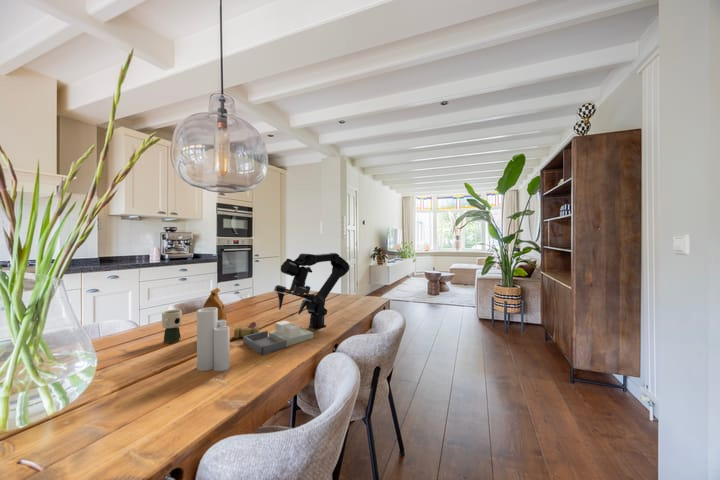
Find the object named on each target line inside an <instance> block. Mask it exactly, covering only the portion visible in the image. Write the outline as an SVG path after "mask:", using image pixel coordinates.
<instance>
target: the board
mask: <svg viewBox="0 0 720 480" xmlns="http://www.w3.org/2000/svg"><path fill="white" fill-rule="evenodd" d="M268 337H270V338H271V339H273V340H275V341H277V342H280V341H283V340H287V347H288V346H292V345H294V344H299V343H302V342H305V341H308V340H312V339H314V332H313V331H312V330H308V329H306V328H303V327H301V326H300V336H298V337H294V338H291V339H290V338H288V337H286V336H284V334H279V333H277V332H275V330H273V331H268Z"/></svg>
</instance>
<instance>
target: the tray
mask: <svg viewBox="0 0 720 480" xmlns="http://www.w3.org/2000/svg"><path fill="white" fill-rule="evenodd" d="M242 340H243V342H242V343H243V345H245V346H246V347H248V348H250V349H251V350H253V351H254V352H255V353H257V354H259V355H261V356H264V355H266V354H267V355H268V354H271V353H273V352H278V351H280V350H283V349H286V348H287V347H288V346H287V340H283V341H280V342H277V341H275V340H273V339H271V338H270V337H269V331H268V330H264V331H259V333H255V334H251V335H247V336H243V338H242Z"/></svg>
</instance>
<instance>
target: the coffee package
mask: <svg viewBox="0 0 720 480" xmlns="http://www.w3.org/2000/svg"><path fill="white" fill-rule="evenodd" d="M220 292H221V289H220V288H218V287H216V288H214V289H213V290H210V295H209V296H208V298H207V299H206V300H205V302H204V305H203V306H202V308H209V307H215V308H218V320H226V324H227V312H226V307H225V304H224V302H223V301H222V300H221V299H220V297H219V293H220Z"/></svg>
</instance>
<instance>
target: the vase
mask: <svg viewBox="0 0 720 480" xmlns="http://www.w3.org/2000/svg"><path fill="white" fill-rule="evenodd" d="M230 339H231V338H230V326H227V323H226V320H218V308H215V307H209V308H203V307H202V308H199V309H197V310H196V368H197V371H200V372H205V371H207V372H208V371H211V370H213V371H215V372H224V371H227V370H229V369H230V368H231V367H230V365H231V364H230V363H231V360H230V359H231V357H230V355H231V353H230V350H231V349H230V347H231V345H230V344H231V343H230Z"/></svg>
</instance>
